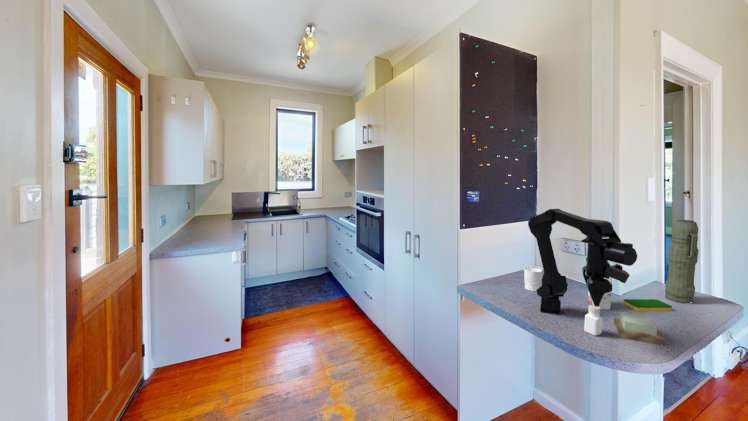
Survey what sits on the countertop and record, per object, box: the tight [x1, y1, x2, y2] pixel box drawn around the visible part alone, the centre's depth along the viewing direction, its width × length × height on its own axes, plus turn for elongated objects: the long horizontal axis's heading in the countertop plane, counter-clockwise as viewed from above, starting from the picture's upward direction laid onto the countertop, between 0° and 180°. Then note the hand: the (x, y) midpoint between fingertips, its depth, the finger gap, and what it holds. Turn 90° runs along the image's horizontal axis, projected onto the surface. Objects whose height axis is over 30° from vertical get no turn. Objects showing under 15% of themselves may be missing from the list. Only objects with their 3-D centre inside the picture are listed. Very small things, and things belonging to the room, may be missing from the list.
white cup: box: [523, 266, 543, 292], centre depth 143 cm, size 8×8×10 cm
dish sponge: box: [622, 298, 673, 312], centre depth 122 cm, size 7×14×2 cm, turn 87°
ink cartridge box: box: [587, 277, 613, 310], centre depth 123 cm, size 9×5×15 cm, turn 168°
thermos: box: [664, 219, 699, 304], centre depth 126 cm, size 9×12×35 cm
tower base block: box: [613, 317, 665, 347], centre depth 101 cm, size 11×11×3 cm
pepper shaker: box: [583, 304, 604, 337], centre depth 102 cm, size 4×4×10 cm
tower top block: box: [620, 311, 658, 336], centre depth 101 cm, size 8×8×3 cm
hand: (594, 301), depth 102 cm, fingers open, 9 cm apart
